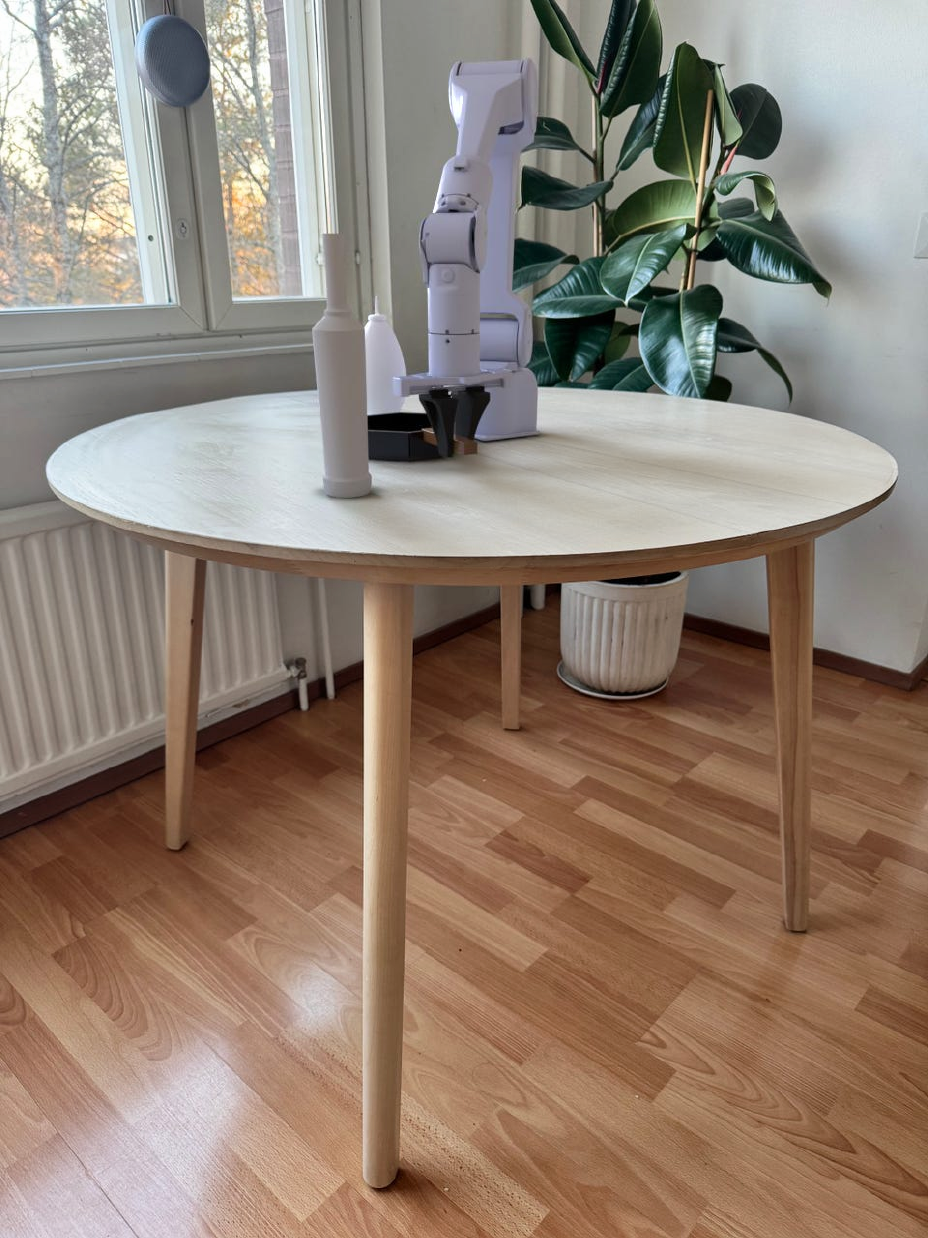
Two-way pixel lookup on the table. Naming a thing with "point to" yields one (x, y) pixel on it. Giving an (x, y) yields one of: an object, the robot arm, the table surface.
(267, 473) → the table surface
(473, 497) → the table surface
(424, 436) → the pan
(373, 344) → the sauce bottle
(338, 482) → the bottle
